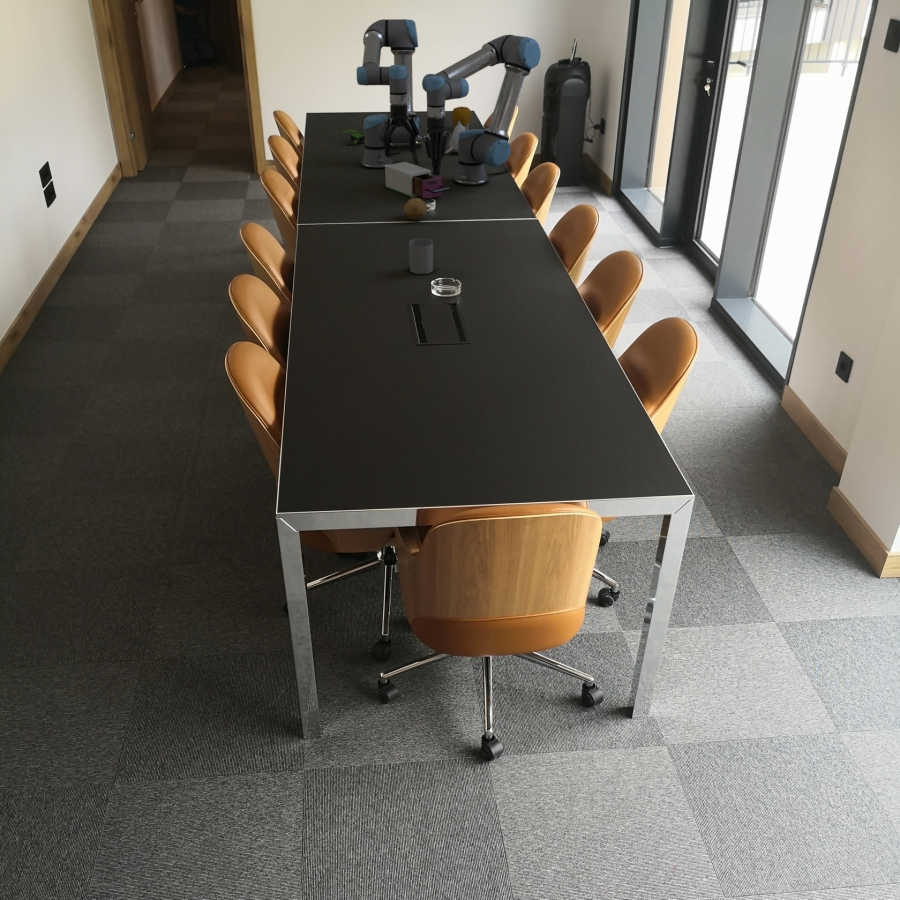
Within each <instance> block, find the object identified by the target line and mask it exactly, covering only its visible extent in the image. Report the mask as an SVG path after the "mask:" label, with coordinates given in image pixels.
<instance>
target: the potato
mask: <svg viewBox="0 0 900 900" xmlns="http://www.w3.org/2000/svg"><path fill="white" fill-rule="evenodd" d="M427 213H428V205H427V203H426V202H425V201H424V200H423V199H422V198H420V197H411V198H410V199H408V201H407V202H406V203H405V204H404V207H403V214H404V216H406V217H407V219H409V220H412V221H420V220H422V219H423V218H425V217H426V214H427Z"/></svg>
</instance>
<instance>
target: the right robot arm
mask: <svg viewBox="0 0 900 900" xmlns="http://www.w3.org/2000/svg"><path fill="white" fill-rule="evenodd" d="M541 53H542V51H541V48H540V45H539V43H538V41H537V40H536V39H534V38H532V37H528V36H522V35H515V34H504V35H501V36H498V37H496V38H494V39H492V40H490V41H488V42H485V43H484V44H482V46H481V48H479V50H476V51H475V52H473V53H470V54H469V55H468V56H465V57H464V58H462V59H460V60H459V61H456V62H455V63H453V64H452V65H449V66H448V67H445V68H444V69H442V70H440V71H438V72H436V73H427V74H425V75H424V76H423V77H422V80H421V87H422V89H423V91H424V92H426V116H427V117H426V127H427V131H426V134H425V135H423V136H422V139H423V141H424V145H425V150H426V156H427V158H428V159H431V167H432V175H433V176H440V175H441V165H442V164H441V163H442V160H443V158H444V157H446V154H445V152H446V151H447V146H448V145H447V144H448V140H449V137H450V132H448V131H446V128H445V127H446V118H445V116H446V101H450V100H451V101H452V100H457V99H463V98H465V97H467V96H468V94H469V92H470V86H469V82H468V80H467V78H469V77H471V76H473V75H475V74H476V73H479V72H480V71H482V70H484V69H485V68H488V67H495V66H496V65H499V64H504V65H503V67H504V69H505V73H504V76H503V80H502V83H501V86H500V89H499V93H498V96H497V99H496V103H495V106H494V109H493V113H492V116H491V119H490V121H489V125H488V127H486V128H485V129H482V128H473V129H471V128H470V129H469V130H465V131H461V132H460V133H459V140H458V148H459V154H458V166H457V167H456V168H457V169H456V171H455V175H454V184H457V185H460V186H465V187H478V186H482V185H483V186H484V185H485V184H487V183H488V176H494V175H502V174H506V173H507V172H508V171H509V170H510V169H509V168H510V167H507V168H506V170H504V171H500V172H492V173H487V171H486V168H485V165H487V166H490V167H501V166H503V165H504V164H505V163H506V162H507V161H508V159H509V158H510V156H511V152H512V150H511V149H512V147H511V144H510V143H509V140H510V136H509V134H508V133H509V129H510V126H511V123H512V121H513V120H512V119H513V117H514V113H515V110H516V107H517V104H518V101H519V97H520V94H521V92H522V91H521V90H522V88H523V86H524V85H523V84H524V81H525V78H526V77H528V76H529V75H530V74H531V70H532V69H535V68H536V67H537V66H538V65H539V63H540V61H541V56H542V55H541Z"/></svg>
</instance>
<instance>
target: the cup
mask: <svg viewBox="0 0 900 900" xmlns="http://www.w3.org/2000/svg"><path fill="white" fill-rule="evenodd" d="M408 253H409V272H411V273H412V274H416V275H426V274H430V273H432V272H434V241H433V240H431V239H428V238H422V237H421V238H420V237H419V238H414V239H411V240H410V241H409V242H408Z"/></svg>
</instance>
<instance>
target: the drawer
mask: <svg viewBox="0 0 900 900" xmlns="http://www.w3.org/2000/svg"><path fill="white" fill-rule="evenodd" d="M412 182H413V194H416V195H419V196H418V197H421V199H422V198H428V199H433V198H436V197H441V196H443V192H446V191H447V192H448V191H450V187H447V186H445V185H443V176H436V175H433V174H431V175H429V174H423V175H418V176H413V177H412Z"/></svg>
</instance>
